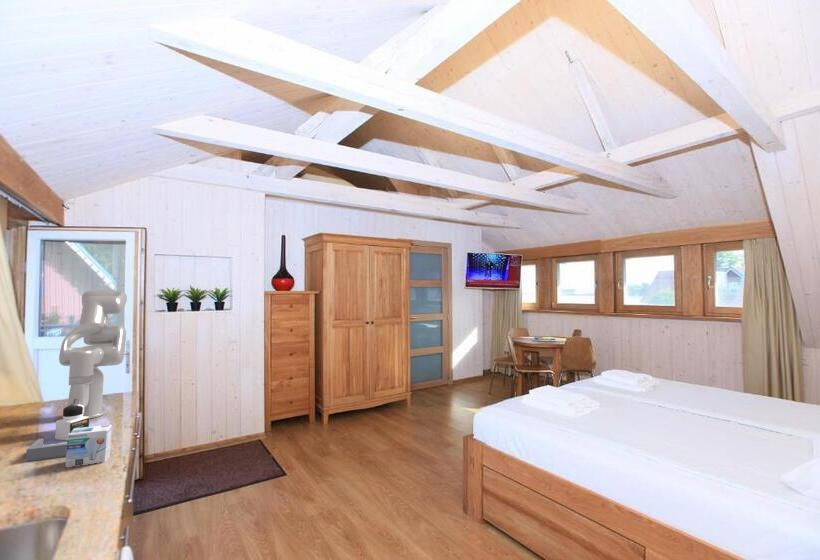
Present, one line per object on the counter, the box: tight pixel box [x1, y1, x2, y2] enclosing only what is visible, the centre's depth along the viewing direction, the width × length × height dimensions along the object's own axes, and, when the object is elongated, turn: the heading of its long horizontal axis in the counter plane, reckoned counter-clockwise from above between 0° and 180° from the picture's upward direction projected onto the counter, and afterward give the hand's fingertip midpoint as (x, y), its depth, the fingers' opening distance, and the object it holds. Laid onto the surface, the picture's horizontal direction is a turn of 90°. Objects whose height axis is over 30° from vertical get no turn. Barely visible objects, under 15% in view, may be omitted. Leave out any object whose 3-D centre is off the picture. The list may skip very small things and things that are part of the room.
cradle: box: [25, 438, 67, 463], centre depth 135 cm, size 10×14×4 cm
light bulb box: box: [64, 423, 113, 468], centre depth 129 cm, size 11×7×11 cm, turn 117°
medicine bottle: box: [54, 405, 90, 442], centre depth 149 cm, size 7×7×12 cm
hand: (78, 425), depth 155 cm, fingers closed
